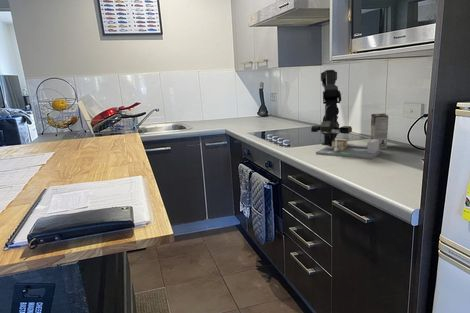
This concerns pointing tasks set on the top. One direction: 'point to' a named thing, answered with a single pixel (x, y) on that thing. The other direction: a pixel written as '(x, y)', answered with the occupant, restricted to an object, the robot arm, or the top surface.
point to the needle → (335, 145)
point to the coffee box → (379, 129)
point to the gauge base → (354, 151)
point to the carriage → (340, 144)
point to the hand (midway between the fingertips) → (330, 146)
